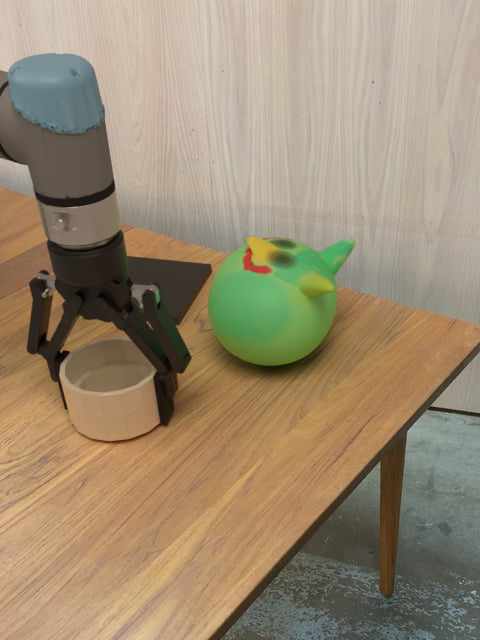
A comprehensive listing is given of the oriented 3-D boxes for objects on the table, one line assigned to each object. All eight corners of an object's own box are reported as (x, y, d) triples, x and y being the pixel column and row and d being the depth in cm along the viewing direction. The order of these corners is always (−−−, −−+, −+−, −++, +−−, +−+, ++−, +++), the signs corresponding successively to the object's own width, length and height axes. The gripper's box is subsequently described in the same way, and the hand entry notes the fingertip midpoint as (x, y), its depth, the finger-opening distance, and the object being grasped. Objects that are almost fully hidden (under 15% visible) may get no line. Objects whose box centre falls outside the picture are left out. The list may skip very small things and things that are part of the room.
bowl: (55, 437, 89) (42, 387, 84) (95, 380, 97) (85, 331, 92) (147, 451, 87) (139, 401, 82) (180, 391, 94) (174, 342, 90)
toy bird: (231, 307, 108) (224, 205, 98) (352, 317, 106) (357, 213, 96) (197, 383, 96) (185, 275, 86) (333, 397, 93) (337, 287, 83)
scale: (63, 312, 109) (58, 293, 107) (105, 261, 119) (102, 243, 117) (178, 326, 105) (176, 306, 103) (212, 272, 116) (210, 253, 114)
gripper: (-43, 240, 76) (13, 415, 91) (186, 263, 71) (205, 444, 86) (-5, 207, 81) (42, 378, 96) (210, 227, 77) (225, 403, 91)
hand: (119, 409), depth 91 cm, fingers closed on bowl, 11 cm apart
